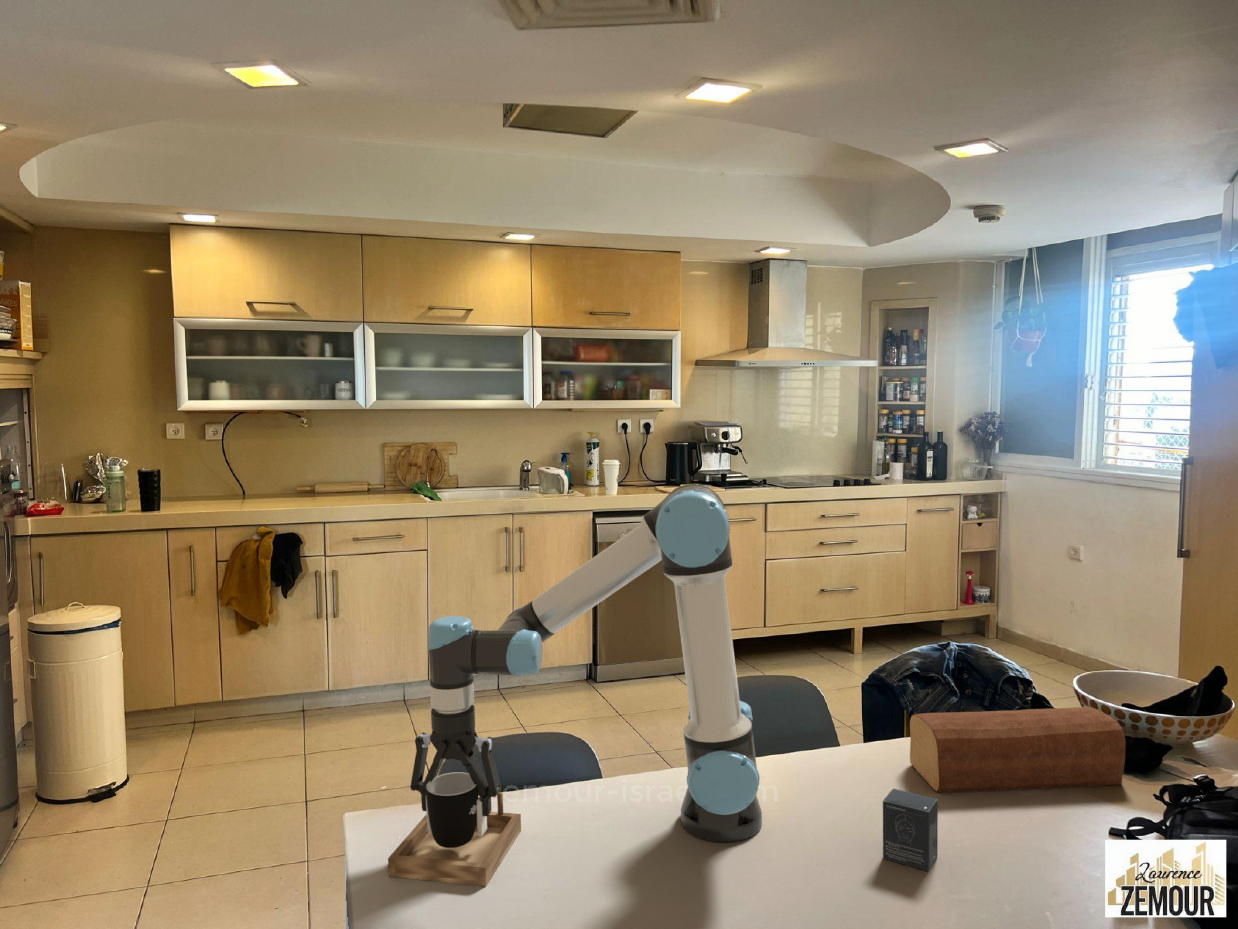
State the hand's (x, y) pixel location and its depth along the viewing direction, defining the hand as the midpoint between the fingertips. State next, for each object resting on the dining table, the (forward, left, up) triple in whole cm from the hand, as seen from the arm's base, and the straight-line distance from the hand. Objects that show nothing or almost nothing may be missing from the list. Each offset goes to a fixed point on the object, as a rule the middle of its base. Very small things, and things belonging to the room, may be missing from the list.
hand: (457, 830), depth 153 cm
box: (-78, -12, -4) cm, 79 cm away
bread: (-103, -48, -5) cm, 114 cm away
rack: (0, 0, -4) cm, 4 cm away
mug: (0, 0, -1) cm, 1 cm away
